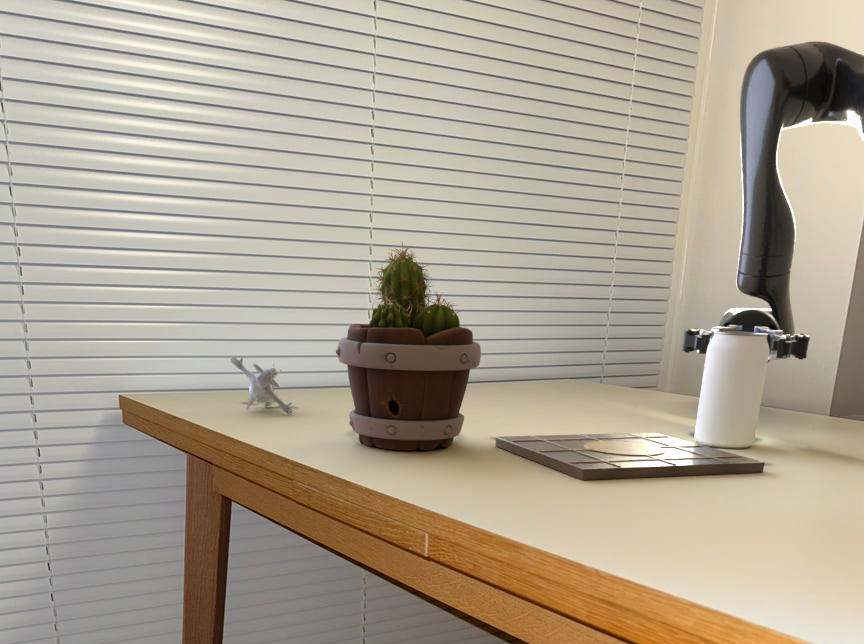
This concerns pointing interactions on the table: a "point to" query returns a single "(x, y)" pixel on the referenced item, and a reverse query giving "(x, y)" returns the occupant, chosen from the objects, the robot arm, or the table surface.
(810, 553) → the table surface
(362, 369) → the flowerpot
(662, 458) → the board
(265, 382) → the spiky grey figurine
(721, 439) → the can
